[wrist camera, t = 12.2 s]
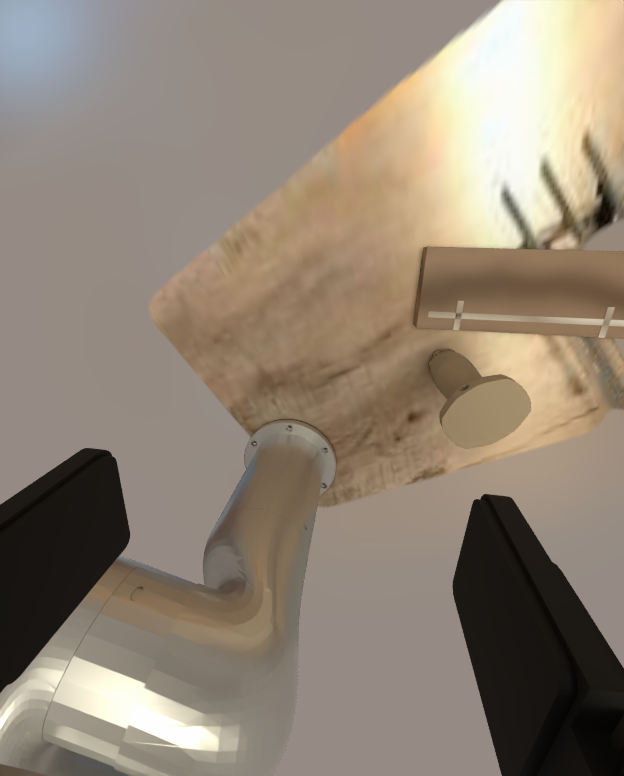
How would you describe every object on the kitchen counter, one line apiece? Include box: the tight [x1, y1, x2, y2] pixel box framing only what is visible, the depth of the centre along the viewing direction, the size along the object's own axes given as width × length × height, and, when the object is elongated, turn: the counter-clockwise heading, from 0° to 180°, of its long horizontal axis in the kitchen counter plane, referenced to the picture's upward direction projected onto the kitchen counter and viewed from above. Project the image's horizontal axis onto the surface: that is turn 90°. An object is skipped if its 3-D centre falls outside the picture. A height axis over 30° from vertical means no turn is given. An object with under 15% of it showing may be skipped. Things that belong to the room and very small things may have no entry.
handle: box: [429, 349, 531, 449], centre depth 33 cm, size 5×6×15 cm
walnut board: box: [413, 247, 624, 339], centre depth 35 cm, size 8×22×3 cm, turn 88°
